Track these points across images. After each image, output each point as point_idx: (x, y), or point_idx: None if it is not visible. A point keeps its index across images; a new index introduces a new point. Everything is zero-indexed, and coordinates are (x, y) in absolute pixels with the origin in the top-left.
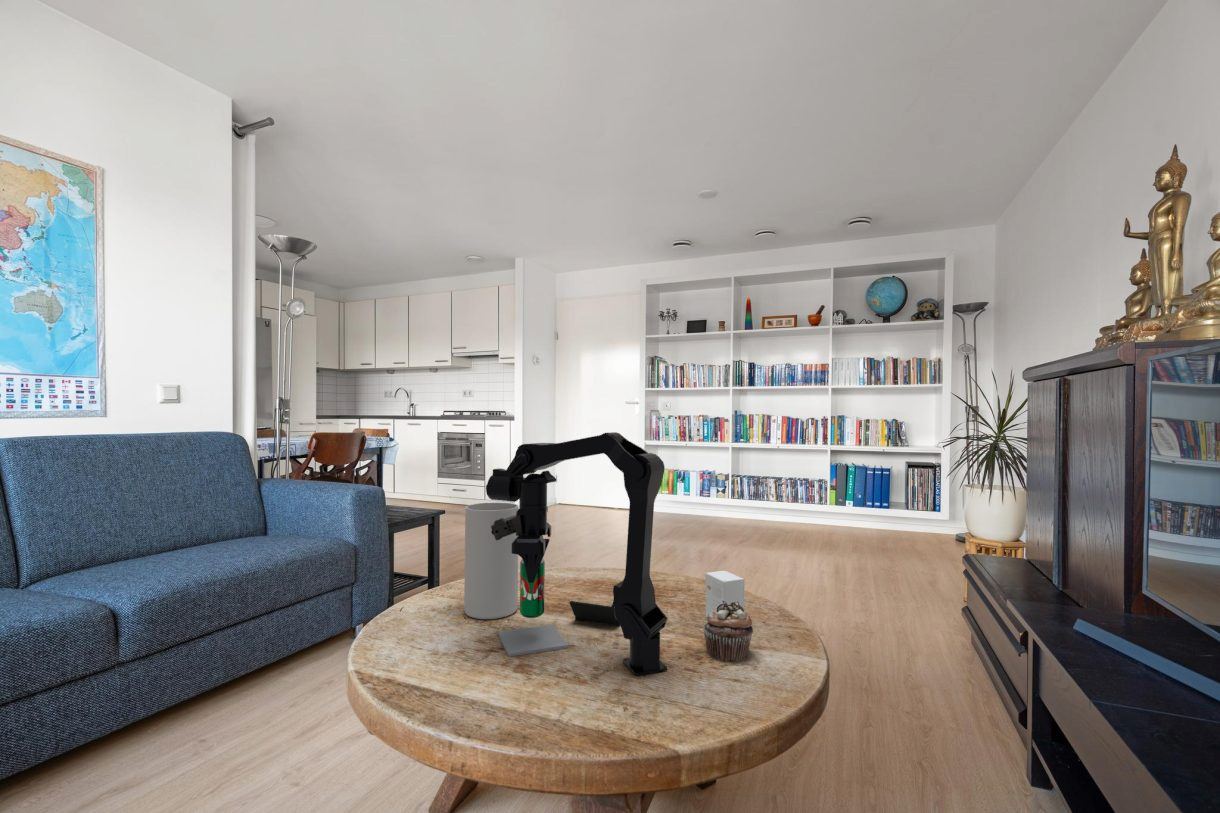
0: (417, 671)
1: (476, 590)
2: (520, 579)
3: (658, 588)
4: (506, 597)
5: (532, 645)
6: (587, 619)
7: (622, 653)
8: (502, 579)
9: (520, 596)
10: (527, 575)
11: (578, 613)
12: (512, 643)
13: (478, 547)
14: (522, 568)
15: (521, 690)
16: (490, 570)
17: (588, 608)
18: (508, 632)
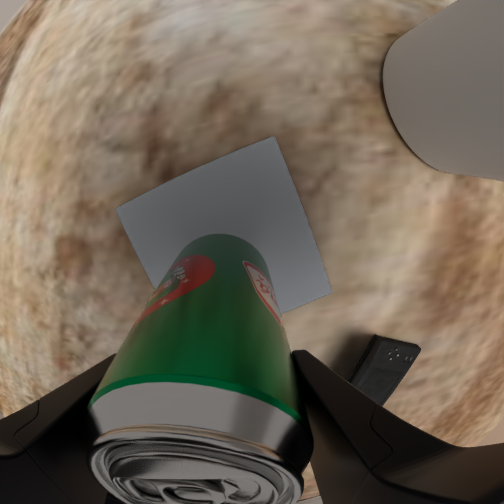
0: (56, 39)
1: (427, 33)
2: (166, 297)
3: (473, 419)
4: (438, 142)
5: (172, 262)
6: (362, 364)
7: None
8: (475, 123)
9: (183, 260)
10: (85, 376)
11: (367, 357)
12: (181, 201)
13: None
14: (109, 367)
15: (10, 268)
16: (485, 61)
17: None
18: (268, 170)
